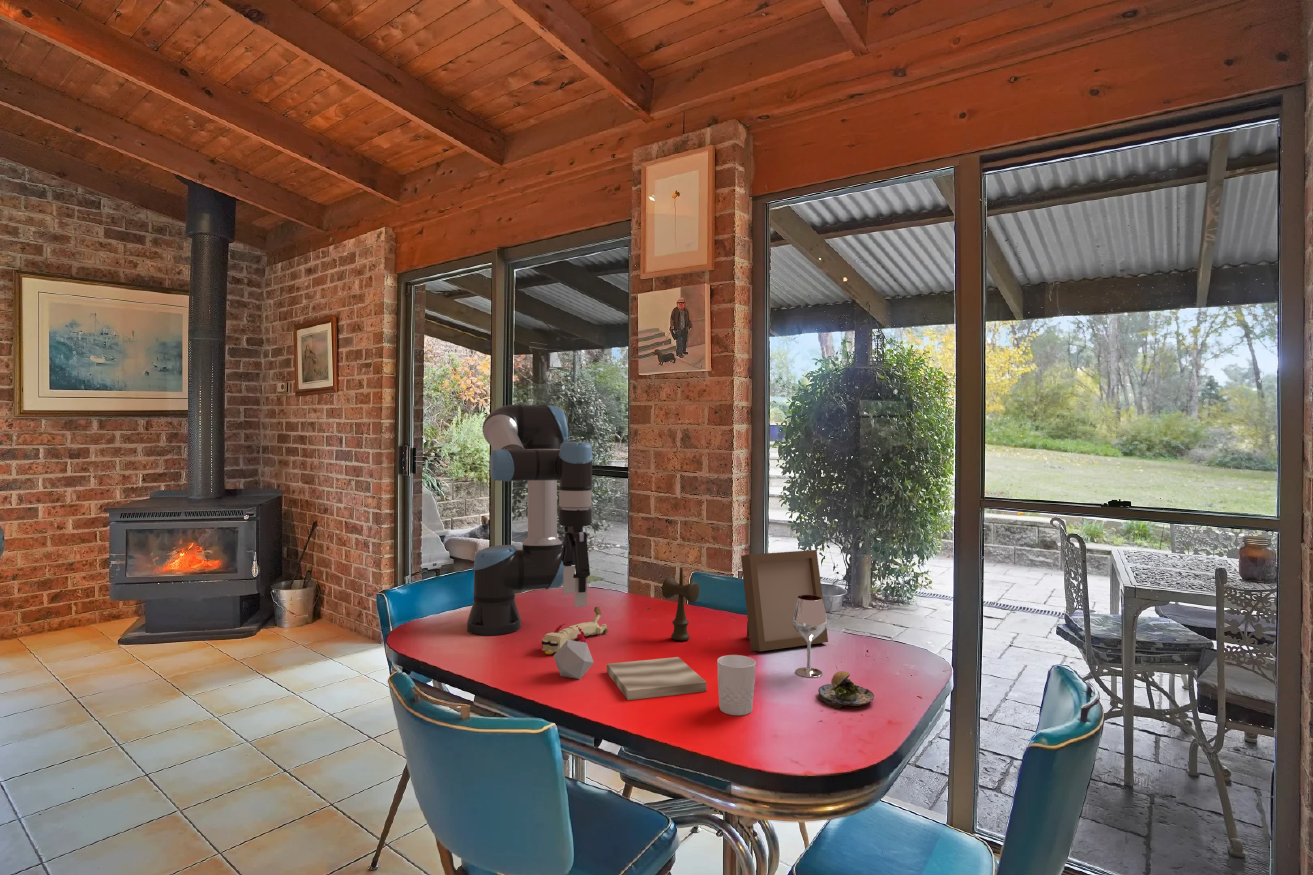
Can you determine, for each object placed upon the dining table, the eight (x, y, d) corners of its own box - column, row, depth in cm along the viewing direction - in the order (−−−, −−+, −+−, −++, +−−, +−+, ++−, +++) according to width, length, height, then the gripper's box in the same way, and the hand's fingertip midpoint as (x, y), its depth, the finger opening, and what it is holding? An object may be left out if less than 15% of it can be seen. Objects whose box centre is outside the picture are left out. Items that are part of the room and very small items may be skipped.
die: (599, 675, 164) (587, 637, 168) (593, 668, 156) (580, 628, 161) (566, 689, 163) (554, 650, 167) (559, 682, 155) (547, 642, 160)
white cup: (713, 702, 147) (714, 655, 147) (750, 701, 147) (751, 654, 147) (720, 717, 139) (720, 667, 139) (759, 716, 139) (759, 666, 139)
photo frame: (828, 645, 187) (829, 553, 187) (759, 655, 179) (760, 558, 178) (795, 631, 201) (796, 544, 201) (730, 639, 192) (731, 549, 192)
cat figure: (584, 634, 199) (529, 651, 177) (586, 603, 200) (531, 616, 178) (614, 639, 195) (561, 657, 173) (615, 608, 195) (563, 621, 173)
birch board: (606, 672, 164) (606, 663, 164) (678, 665, 170) (678, 656, 170) (627, 700, 147) (627, 690, 147) (706, 691, 153) (706, 682, 153)
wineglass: (806, 681, 160) (807, 603, 160) (784, 670, 167) (785, 595, 167) (833, 675, 164) (834, 599, 164) (810, 665, 171) (811, 592, 171)
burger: (841, 715, 141) (841, 678, 141) (806, 695, 152) (807, 661, 152) (887, 706, 146) (887, 671, 146) (850, 687, 157) (850, 654, 157)
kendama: (673, 633, 197) (674, 563, 197) (700, 640, 191) (701, 567, 191) (659, 638, 192) (660, 566, 192) (687, 645, 186) (688, 570, 186)
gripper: (604, 513, 151) (603, 611, 151) (580, 503, 175) (579, 587, 174) (570, 514, 148) (569, 613, 148) (550, 503, 172) (549, 589, 172)
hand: (574, 599), depth 161 cm, fingers open, 13 cm apart
